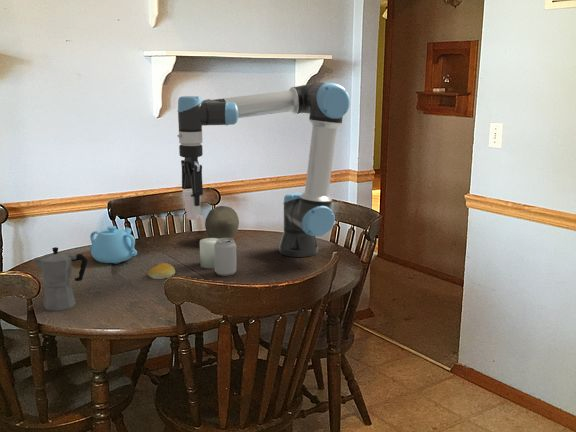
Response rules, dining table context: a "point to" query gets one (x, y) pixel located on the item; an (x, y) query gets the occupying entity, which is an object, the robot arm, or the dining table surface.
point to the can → (225, 256)
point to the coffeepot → (59, 278)
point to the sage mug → (207, 252)
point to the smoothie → (189, 204)
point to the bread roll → (161, 271)
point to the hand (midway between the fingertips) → (192, 212)
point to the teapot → (113, 245)
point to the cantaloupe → (222, 222)
